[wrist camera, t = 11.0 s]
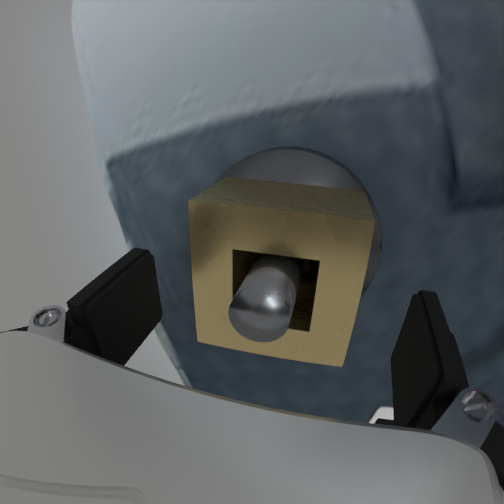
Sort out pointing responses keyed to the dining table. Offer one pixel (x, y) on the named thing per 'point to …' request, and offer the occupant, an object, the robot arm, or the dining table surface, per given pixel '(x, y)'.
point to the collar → (285, 244)
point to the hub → (284, 267)
